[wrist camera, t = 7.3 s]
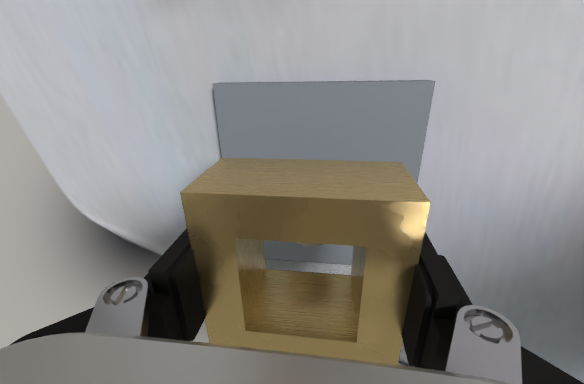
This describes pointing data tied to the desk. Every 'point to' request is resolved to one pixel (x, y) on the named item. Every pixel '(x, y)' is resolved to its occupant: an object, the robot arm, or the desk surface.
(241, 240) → the collar
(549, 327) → the desk surface
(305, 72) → the desk surface
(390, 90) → the post plate
